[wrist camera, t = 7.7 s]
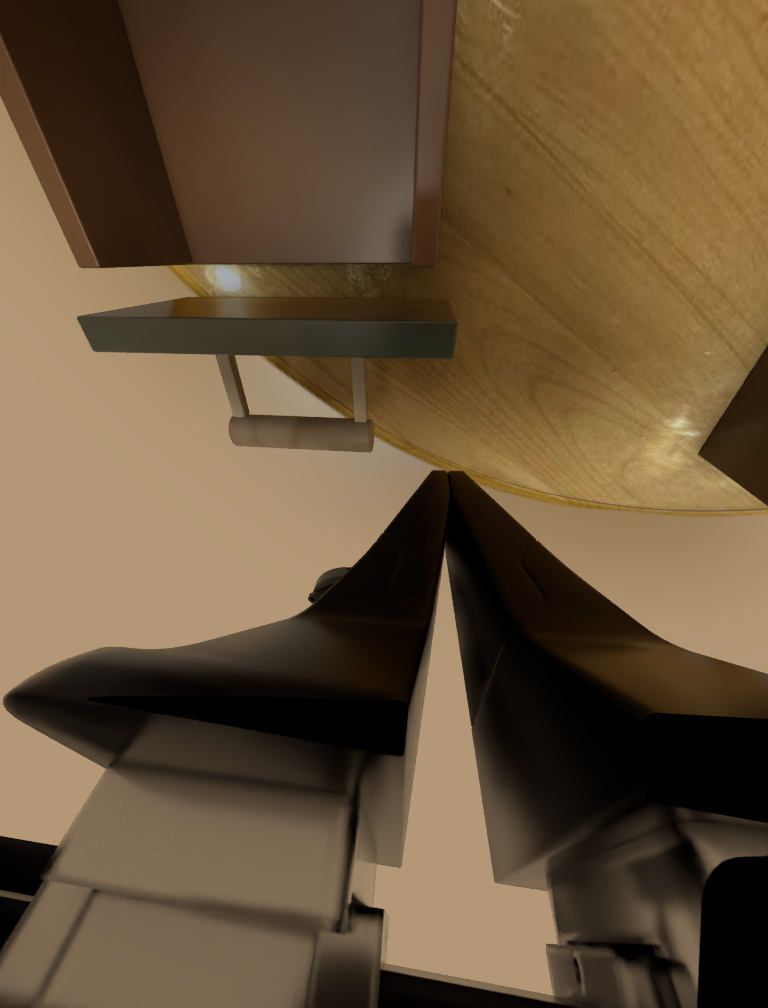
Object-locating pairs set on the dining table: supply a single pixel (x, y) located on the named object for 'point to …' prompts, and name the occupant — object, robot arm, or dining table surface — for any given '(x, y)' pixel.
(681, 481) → the dining table surface
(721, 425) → the stand
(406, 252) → the drawer
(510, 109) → the dining table surface
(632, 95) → the dining table surface
